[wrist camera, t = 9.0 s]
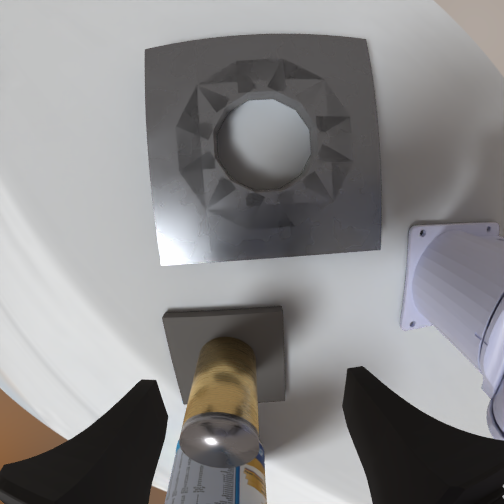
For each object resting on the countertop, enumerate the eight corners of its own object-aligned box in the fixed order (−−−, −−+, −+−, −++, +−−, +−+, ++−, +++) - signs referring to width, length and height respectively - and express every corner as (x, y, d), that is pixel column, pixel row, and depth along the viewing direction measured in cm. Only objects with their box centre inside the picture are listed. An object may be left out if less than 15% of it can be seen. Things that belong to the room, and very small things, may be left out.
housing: (355, 49, 16) (365, 39, 14) (368, 241, 19) (380, 249, 17) (154, 59, 16) (144, 49, 14) (169, 256, 19) (161, 265, 17)
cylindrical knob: (256, 336, 20) (260, 424, 12) (255, 381, 21) (258, 468, 13) (196, 336, 20) (173, 420, 12) (201, 380, 21) (185, 465, 13)
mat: (281, 306, 20) (282, 311, 19) (283, 394, 22) (285, 400, 21) (165, 312, 20) (162, 317, 19) (185, 397, 22) (183, 404, 22)
